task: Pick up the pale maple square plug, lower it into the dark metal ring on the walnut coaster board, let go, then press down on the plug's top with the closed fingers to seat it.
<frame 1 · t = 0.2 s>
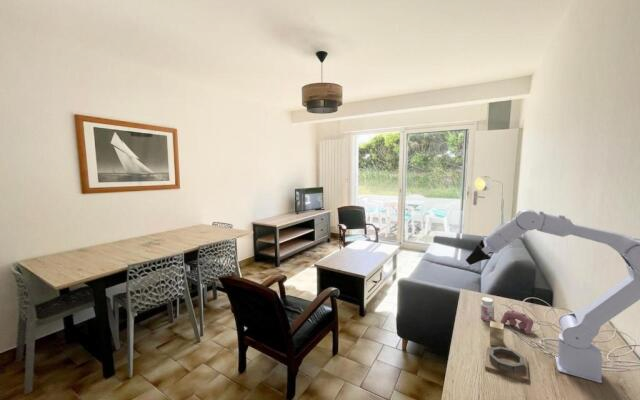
hand: (470, 259, 97), 31 cm above the table, tool tilted 45°, fingers open, 7 cm apart
video game controller: (516, 328, 106), on the table
pill bottle: (487, 318, 113), on the table
maple plug: (496, 343, 97), on the table
ring holder: (506, 364, 87), on the table
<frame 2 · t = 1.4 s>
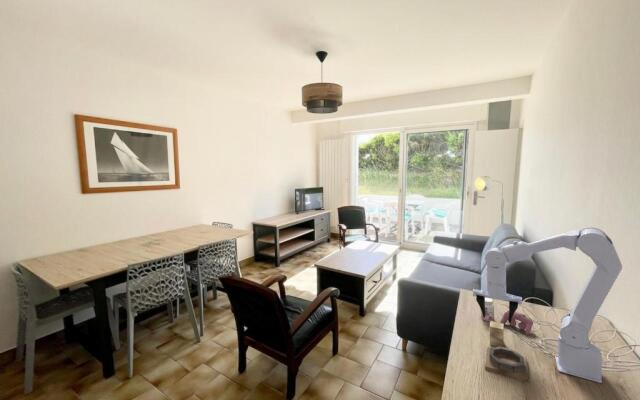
hand: (496, 318, 96), 9 cm above the table, tool pointing down, fingers open, 7 cm apart
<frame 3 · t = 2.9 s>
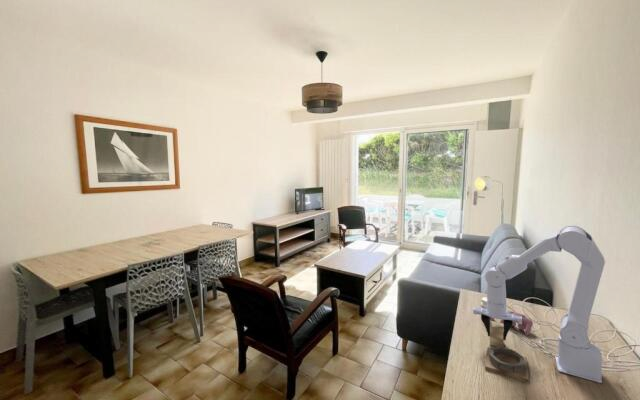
hand: (496, 336, 97), 2 cm above the table, tool pointing down, fingers closed on maple plug, 4 cm apart
maple plug: (496, 343, 97), on the table, touching gripper
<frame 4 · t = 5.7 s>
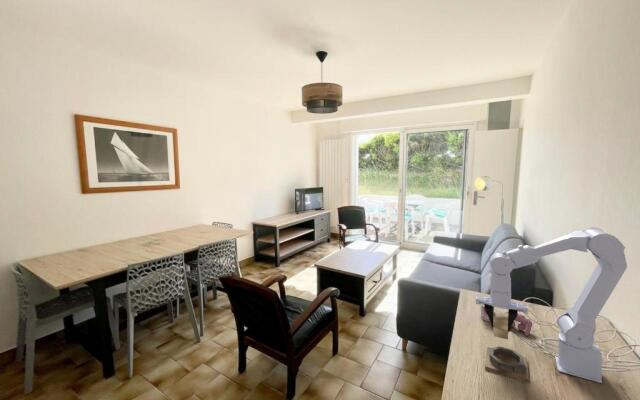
hand: (500, 328, 92), 9 cm above the table, tool pointing down, fingers closed on maple plug, 4 cm apart
maple plug: (500, 334, 92), point 6 cm above the table, touching gripper
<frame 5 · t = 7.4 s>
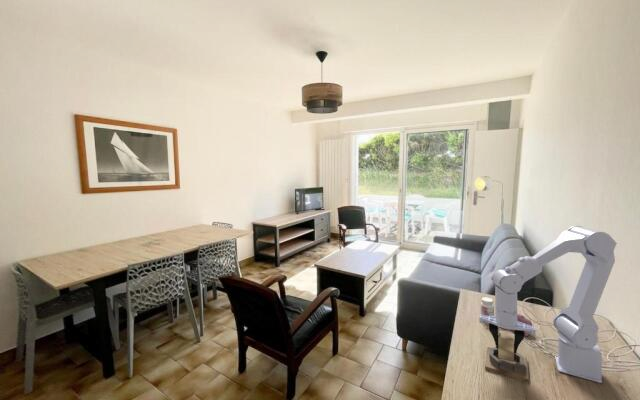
hand: (506, 349, 86), 5 cm above the table, tool pointing down, fingers closed on maple plug, 4 cm apart
maple plug: (506, 356, 86), point 3 cm above the table, touching gripper
when the fingers open (4 cm above the table, at t = 8.8 s): maple plug stays where it is, resting on ring holder.
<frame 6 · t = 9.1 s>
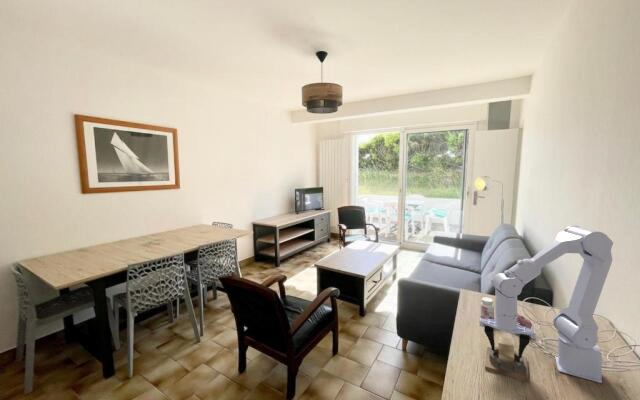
hand: (506, 352, 86), 4 cm above the table, tool pointing down, fingers open, 6 cm apart
maple plug: (506, 361, 87), point 1 cm above the table, touching ring holder
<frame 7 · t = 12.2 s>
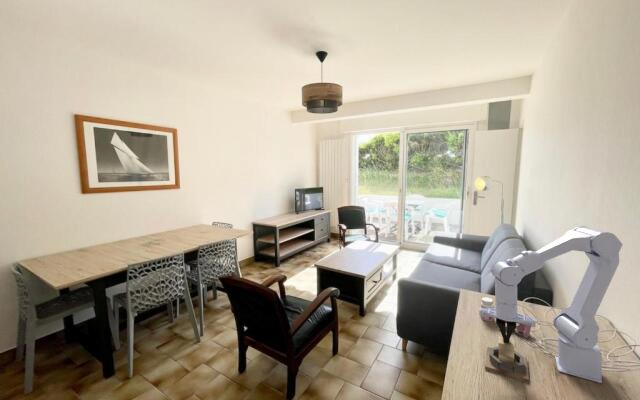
hand: (506, 341, 86), 8 cm above the table, tool pointing down, fingers closed, pressing on maple plug
maple plug: (506, 361, 87), point 1 cm above the table, touching gripper, ring holder
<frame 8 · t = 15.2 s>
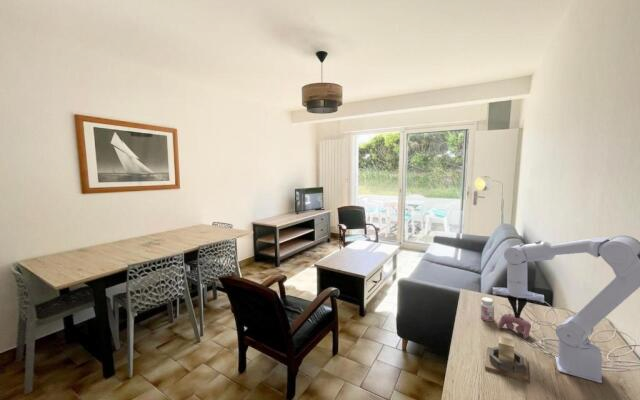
hand: (517, 316, 95), 10 cm above the table, tool pointing down, fingers closed
maple plug: (506, 361, 87), point 1 cm above the table, touching ring holder
at the end: maple plug 0.0 cm off-centre on the ring holder, point 1.0 cm above the ring holder's base; maple plug tilted 0°; the gripper is holding nothing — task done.
